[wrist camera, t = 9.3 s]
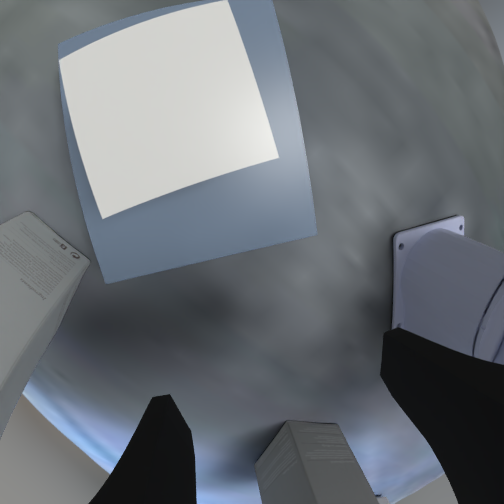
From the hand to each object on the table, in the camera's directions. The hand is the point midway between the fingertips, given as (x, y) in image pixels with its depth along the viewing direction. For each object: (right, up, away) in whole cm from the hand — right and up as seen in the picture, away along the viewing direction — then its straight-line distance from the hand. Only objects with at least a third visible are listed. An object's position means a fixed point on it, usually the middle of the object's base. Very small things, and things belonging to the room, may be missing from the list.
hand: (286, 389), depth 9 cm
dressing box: (-5, +11, +7) cm, 14 cm away
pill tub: (-4, +10, +3) cm, 12 cm away
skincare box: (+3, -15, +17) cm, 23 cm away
